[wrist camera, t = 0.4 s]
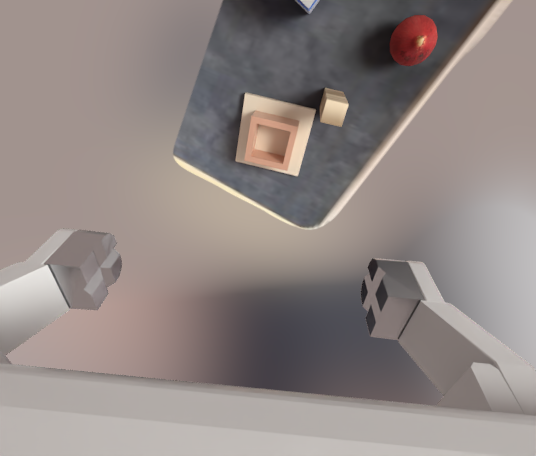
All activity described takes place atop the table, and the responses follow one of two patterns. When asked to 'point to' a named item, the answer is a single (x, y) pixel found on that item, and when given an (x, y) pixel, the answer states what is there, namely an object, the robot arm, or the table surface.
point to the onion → (413, 40)
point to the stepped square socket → (273, 133)
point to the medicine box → (307, 4)
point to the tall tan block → (333, 107)
